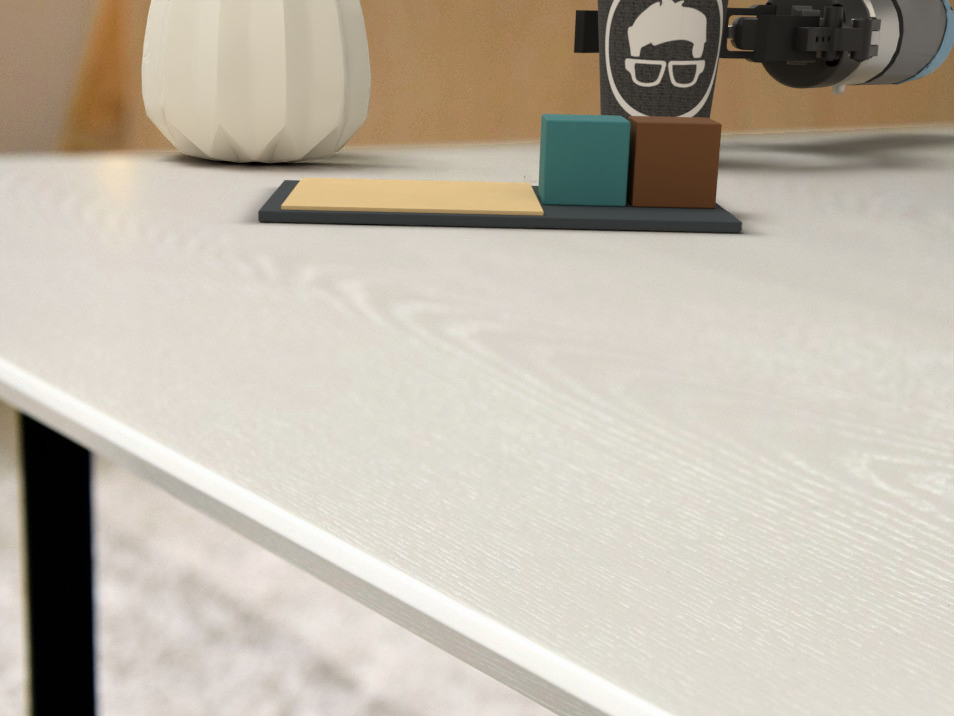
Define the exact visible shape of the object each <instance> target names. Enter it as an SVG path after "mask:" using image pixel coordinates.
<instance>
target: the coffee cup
mask: <svg viewBox="0 0 954 716" xmlns="http://www.w3.org/2000/svg"><path fill="white" fill-rule="evenodd" d="M728 6H729V0H597V10H598V31H599V53H598V62H599V64H598V65H599V102H600V103H599V104H600V115H614V116H622V117H624V118H625V119H627V120H628V117H629V116H658V117H702V118H709V119H711V114H712V107H713V100H714V95H715V87H716V82H717V76H718V69H719V63H720V58H719V57H720V50H721V44H722V38H723V32H724V25H725V19H726V13H727V8H729V7H728Z"/></svg>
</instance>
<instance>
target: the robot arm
mask: <svg viewBox="0 0 954 716" xmlns="http://www.w3.org/2000/svg"><path fill="white" fill-rule="evenodd" d="M732 16H737V17H736V18H734V19H733V20H732V22H731V25H730V24H729V23H730V18H731V17H732ZM574 19H575V22H574V40H573V41H574V43H573V53H574V54H599V31H598V9H597V10H595V9H594V10H593V9H592V10H591V9H576V10H575V18H574ZM729 39H730V44H731V46H732V47H733V48H735V49H737V50H730V49H728V40H729ZM953 47H954V10H953V7H952V4H951V2H950V1H949V0H767V1H766V3H765V4H752V5H750V6H749V7H727V13H726V19H725V25H724V32H723V38H722V44H721V50H720V57H719V59H729V60H730V59H732V60H733V59H735V60H739V59H740V60H746V62H750V63H754V64H755V63H756V64H761V65H762V67H763V68H764V70H765V72H766V73H767V74H768V75H769V76H770V77H771V78H772V79H773V80H775V81H776V82H777V83H779V84H781V85H783V86H785V87H789V88H791V89H798V90H799V89H801V90H803V89H820V88H821V89H822V88H827V87H831V89H830V90H831V92H830V93H832V94H833V95H835V96H836V95H844V93H845V89H846V86H881V85H882V86H883V85H884V86H885V85H895V86H898V85H901V84H905V83H908V82H911V81H915V80H920V79H922V78H925V77H927V76H928V75H930V74H932V73H934V72H935V71H936V70H937V69H938V68H939V67H941V66H942V64H943V63H944V62H945V61H946V60H947V58H948V57H949V55H950V53H951V51H952V49H953Z"/></svg>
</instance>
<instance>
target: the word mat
mask: <svg viewBox="0 0 954 716" xmlns="http://www.w3.org/2000/svg"><path fill="white" fill-rule="evenodd" d="M540 120H541V121H540V139H539V140H540V142H539V164H538V165H539V166H538V184H537V185H532V184H531V183H530V182H519V181H517V182H511V181H472V180H471V181H470V180H428V179H427V180H425V179H390V178H389V179H384V178H382V179H379V178H347V177H346V178H344V177H343V178H338V177H301V178H300V179H298V180H297V179H284V180H283V181H282V183H280V185H279V186H278V187H277V189H275V191H274V192H273V193H272V194H271V195H270V196H269V198H268V199H267V200H266V201H265V202H264V204H263V205H262V206H261V207H260V209H259V210H258V212H257V213H258V214H257V217H258V218H257V220H258V222H262V223H269V222H270V223H299V224H300V223H301V224H304V223H305V224H306V223H308V224H347V225H350V224H352V225H387V226H388V225H389V226H391V225H392V226H396V225H399V226H432V227H433V226H434V227H435V226H436V227H475V228H477V227H478V228H515V229H517V228H518V229H519V228H522V229H524V228H525V229H561V230H562V229H565V230H566V229H567V230H602V231H603V230H604V231H605V230H607V231H609V230H611V231H646V232H647V231H648V232H649V231H651V232H654V231H655V232H688V233H689V232H693V233H735V234H737V233H738V234H740V233H742V229H743V222H742V221H741V220H740V219H739V218H737V217H736V216H734V215H733V214H732V213H731V212H729V210H727V209H725V208H724V207H723V206H721V205H720V204H718V202H717V191H718V179H719V166H720V165H719V164H720V152H721V141H722V140H721V139H722V128H723V125H722V123H720V122H718V121H715V120H714V119H711V118H710V119H709V118H702V117H658V116H629V117H628V120H627V119H625V118H624V117H622V116H614V115H601V114H568V113H567V114H564V113H559V114H558V113H542V114H541V118H540Z"/></svg>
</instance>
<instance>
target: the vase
mask: <svg viewBox="0 0 954 716" xmlns="http://www.w3.org/2000/svg"><path fill="white" fill-rule="evenodd" d="M361 4H362V3H361V1H360V0H150V3H149V9H148V12H147V13H148V14H147V20H146V25H145V33H144V38H143V39H144V40H143V46H142V58H141V70H140V71H141V94H142V95H141V96H142V101H143V105H144V109H145V114H146V116H147V117H148V118H149V120H150V121H151V122H152V123H153V125H154V126H155V127H156V128H157V129H158V130H159V132H161V134H162V135H163V136H164V137H165V138H166V139H167V140H168V141H169V143H171V144H172V145H173V147H174V148H176V150H177V151H178V152H180V153H181V154H184V155H186V156H191V157H195V158H199V159H204V160H209V161H214V162H232V163H239V164H247V163H264V164H276V163H277V164H278V163H300V162H306V161H312V160H318V159H324V158H328V157H332V156H333V155H335V154H336V153H338V152H340V150H342V149H343V148H344V147H345V146H346V145H347V144H348V142H349V141H351V139H353V137H354V136H355V134H356V133H357V132H358V131H359V129H360V128H361V127H362V126H363V125H364V124H365V122H366V121H367V120H368V114H369V111H370V110H369V109H370V104H371V97H372V94H371V93H372V72H371V71H372V70H371V59H370V49H369V41H368V35H367V29H366V23H365V18H364V13H363V9H362V5H361Z"/></svg>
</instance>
